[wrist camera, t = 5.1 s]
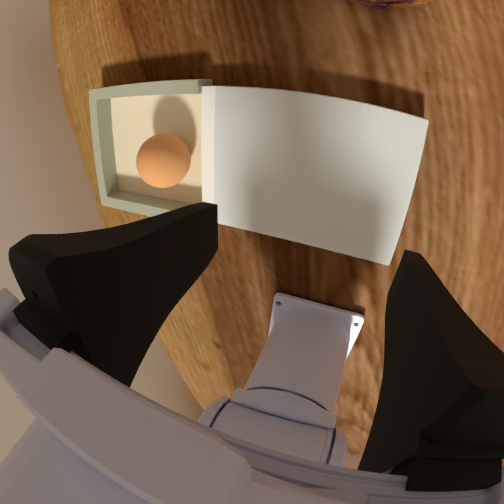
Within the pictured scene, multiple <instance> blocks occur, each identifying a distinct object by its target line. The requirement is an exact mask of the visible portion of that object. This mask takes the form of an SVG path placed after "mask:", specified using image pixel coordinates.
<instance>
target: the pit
mask: <svg viewBox="0 0 504 504" xmlns="http://www.w3.org/2000/svg"><path fill="white" fill-rule="evenodd" d="M202 86H213V79H181V80H164V81H151V82H140V83H131V84H123V85H116V86H109V87H103V88H97V89H92V90H89V105H90V119H91V131H92V141H93V150H94V158H95V166H96V173H97V180H98V186H99V192H100V198H101V203H102V205H104V206H108V207H112V208H116V209H121V210H125V211H129V212H133V213H138V214H142V215H146V216H150V217H152V216H156V215H159V214H162V213H165V212H168V211H171V210H175V209H178V208H181V207H184V206H187V205H191V204H195V203H199V202H202V160H201V118H202ZM162 133H167V134H172V135H175V136H177V137H179V138H180V139H182V140H183V141H184V142H185V144H186V145H187V147H188V149H189V151H190V156H191V163H190V168H189V170H188V172H187V174H186V176H185V177H184V178H183V179H182V180H181V181H180V182H179V183H177V184H176V185H174V186H171V187H167V188H157V187H154V186H151V185H149V184H147V183H146V182H145V181H144V180H143V179H142V178H141V177H140V175H139V173H138V170H137V167H136V158H137V153H138V151H139V149H140V147H141V145H142V144H143V143H144V142H145V141H146V140H147V139H149V138H150V137H152V136H154V135H157V134H162Z"/></svg>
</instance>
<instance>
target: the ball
mask: <svg viewBox="0 0 504 504" xmlns="http://www.w3.org/2000/svg"><path fill="white" fill-rule="evenodd" d="M190 163H191V156H190V151H189V149H188V147H187V145H186V144H185V142H184V141H183V140H182V139H180V138H179V137H177V136H175V135H172V134H167V133H162V134H157V135H154V136H152V137H150V138H149V139H147V140H146V141H145V142H144V143H143V144H142V145H141V147H140V149H139V151H138V153H137V158H136V167H137V170H138V173H139V175H140V177H141V178H142V179H143V180H144V181H145V182H146V183H147V184H149V185H151V186H154V187H157V188H167V187H171V186H174V185H176V184H177V183H179V182H180V181H181V180H182V179H183V178H184V177H185V176H186V174H187V172H188V170H189V168H190Z"/></svg>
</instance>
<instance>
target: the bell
mask: <svg viewBox="0 0 504 504" xmlns="http://www.w3.org/2000/svg"><path fill="white" fill-rule="evenodd" d="M348 1H350V2H353V3H358V4H361V5H365V6H369V7H376V8H385V9H404V8H412V7H419V6H423V5H425V4H427V3H430V2H432V1H435V0H348ZM389 5H390V6H389Z"/></svg>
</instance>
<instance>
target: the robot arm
mask: <svg viewBox="0 0 504 504" xmlns="http://www.w3.org/2000/svg"><path fill="white" fill-rule="evenodd" d="M217 250H218V205H217V204H212V203H207V202H199V203H195V204H191V205H187V206H184V207H181V208H178V209H175V210H171V211H168V212H165V213H162V214H159V215H156V216H152V217H149V218H146V219H143V220H139V221H136V222H132V223H128V224H124V225H120V226H115V227H111V228H105V229H100V230H93V231H87V232H79V233H67V234H32V235H28V236H26V237H25V238H23V239H22V240H20V241H19V242H18V243H16V244H15V245H14V246H12V247H11V248H10V250H9V261H10V265H11V268H12V270H13V273H14V275H15V278H16V280H17V282H18V284H19V286H20V288H21V291H22V293H23V295H24V297H25V298H26V299H25V300H24V301H23V302H21V303H20V302H19V300H18V299H17V298H16V297H15V296H14V295H13V294H12V293H11V292H10V291H8V290H7V289H6V288H3V289H2V290H1V291H0V374H1V376H2V377H3V378H4V379H5V381H6V382H7V383H8V384H9V385H10V386H11V388H12V389H13V390H14V391H15V392H16V393H17V398H18V399H19V400H20V401H21V402H22V403H23V404H24V406H25V407H26V408H27V409H28V410H29V411H30V412H31V413H32V414H33V415H34V416H35V417H36V419H35V420H34V421H33V423H32V424H31V426H29V428H28V429H27V430H26V431H25V433H24V434H23V435H22V437H21V438H20V439H19V440H18V442H17V443H16V444H15V446H14V447H13V448H12V449H11V451H10V452H9V453H8V455H7V456H6V457H5V459H4V460H3V461H2V463H1V464H0V504H504V467H503V468H502V459H504V353H503V352H502V351H501V350H500V349H499V348H498V347H497V346H496V345H495V344H494V343H493V342H492V341H491V340H490V339H489V338H488V337H487V336H486V335H485V334H484V333H483V332H482V331H481V330H480V329H479V328H478V327H477V326H476V325H475V323H474V322H473V321H472V320H471V319H470V318H469V317H468V315H467V314H466V313H465V312H464V311H463V310H462V308H461V307H460V306H459V304H458V303H457V302H456V301H455V299H454V298H453V297H452V295H451V294H450V293H449V291H448V290H447V289H446V287H445V286H444V285H443V283H442V282H441V280H440V279H439V278H438V276H437V275H436V273H435V272H434V271H433V269H432V268H431V266H430V265H429V264H428V262H427V261H426V260H425V259H424V257H423V256H422V255H421V254H420V253H416V252H413V251H409V250H405V251H404V254H403V256H402V259H401V262H400V264H399V267H398V269H397V272H396V275H395V277H394V280H393V282H392V284H391V287H390V289H389V292H388V296H387V304H386V312H385V350H384V370H383V379H382V384H381V390H380V395H379V400H378V404H377V408H376V412H375V416H374V420H373V424H372V428H371V431H370V434H369V438H368V441H367V444H366V447H365V450H364V453H363V456H362V458H361V461H360V464H359V467H358V469H357V470H355V469H349V468H343V465H344V461H345V457H346V453H347V447H348V439H347V437H346V435H345V433H344V430H343V429H342V428H337V427H335V428H334V426H335V423H336V419H337V414H336V413H334V411H335V407H336V403H337V399H338V395H339V390H340V386H341V381H342V377H343V372H344V367H345V362H346V359H347V357H348V355H349V353H350V351H351V349H352V347H353V345H354V342H355V340H356V338H357V336H358V334H359V332H360V329H361V327H362V325H363V323H364V316H363V315H362V314H359V313H355V312H351V311H347V310H343V309H339V308H336V307H332V306H328V305H324V304H321V303H317V302H313V301H310V300H306V299H302V298H299V297H295V296H291V295H288V294H284V293H280V292H278V293H276V294H275V296H274V299H273V307H272V314H271V321H270V328H269V335H268V339H267V341H266V343H265V345H264V347H263V350H262V352H261V354H260V356H259V358H258V360H257V362H256V364H255V367H254V369H253V371H252V373H251V375H250V377H249V379H248V381H247V383H246V385H245V387H244V389H241V388H236V390H235V392H234V394H233V396H232V398H231V399H230V398H227V397H221V398H219V399H218V400H216V401H214V402H212V403H211V404H210V405H209V406H208V407H207V408H206V409H205V410H204V412H203V413H202V415H201V416H200V418H199V420H198V421H194V420H192V419H190V418H187V417H185V416H183V415H181V414H179V413H177V412H175V411H173V410H171V409H168V408H167V407H164V406H163V405H161V404H159V403H157V402H155V401H153V400H151V399H149V398H147V397H145V396H143V395H142V394H140V393H138V392H136V391H134V390H133V389H131V388H130V386H131V383H132V381H133V379H134V377H135V374H136V372H137V370H138V367H139V366H140V364H141V362H142V360H143V358H144V356H145V354H146V352H147V350H148V348H149V347H150V345H151V343H152V341H153V340H154V338H155V336H156V334H157V333H158V331H159V329H160V328H161V326H162V324H163V323H164V321H165V320H166V318H167V317H168V315H169V313H170V312H171V311H172V309H173V308H174V307H175V305H176V304H177V303H178V302H179V300H180V299H181V298H182V297H183V296H184V294H185V293H186V292H187V291H188V290H189V288H190V287H191V286H192V285H193V284H194V282H195V281H196V280H197V279H198V278H199V276H200V275H201V274H202V273H203V271H204V270H205V269H206V268H207V266H208V265H209V263H210V261H211V260H212V258H213V256H214V255H215V253H216V251H217ZM277 301H279V302H281V303H279V302H277ZM356 323H359V324H356Z"/></svg>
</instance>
